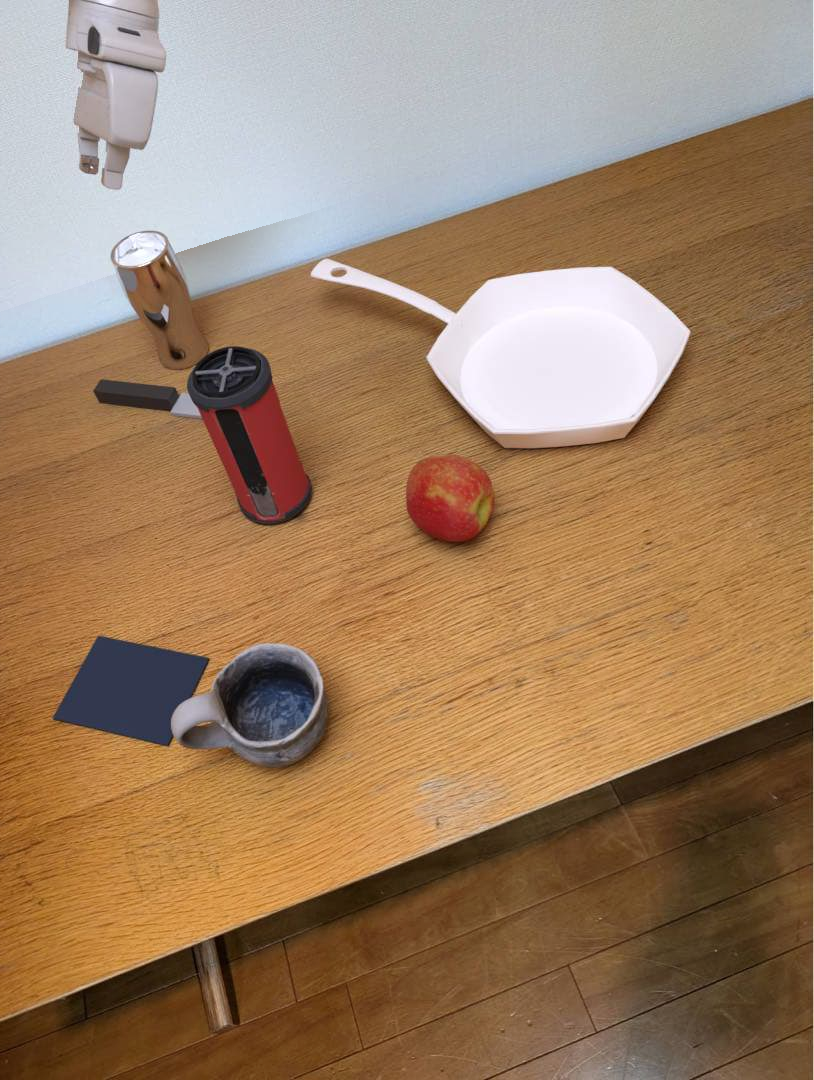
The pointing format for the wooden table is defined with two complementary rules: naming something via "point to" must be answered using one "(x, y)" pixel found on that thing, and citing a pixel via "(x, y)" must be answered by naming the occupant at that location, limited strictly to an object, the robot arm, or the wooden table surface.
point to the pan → (548, 352)
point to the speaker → (250, 433)
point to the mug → (259, 707)
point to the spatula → (146, 397)
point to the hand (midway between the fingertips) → (99, 180)
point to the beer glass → (160, 296)
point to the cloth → (131, 689)
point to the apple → (449, 497)
